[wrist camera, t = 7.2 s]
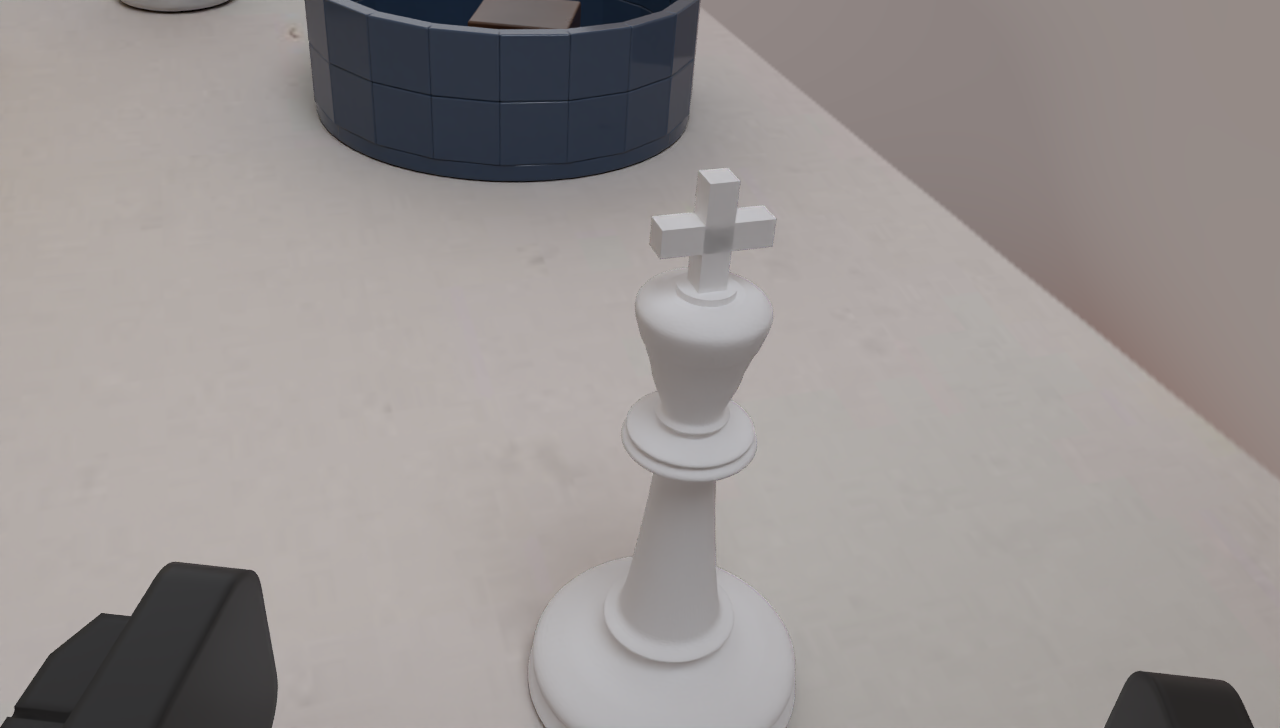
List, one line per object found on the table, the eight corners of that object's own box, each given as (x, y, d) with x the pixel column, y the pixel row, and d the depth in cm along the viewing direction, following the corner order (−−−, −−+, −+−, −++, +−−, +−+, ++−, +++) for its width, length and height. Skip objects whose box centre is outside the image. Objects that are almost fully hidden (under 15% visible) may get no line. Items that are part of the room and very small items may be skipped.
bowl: (697, 59, 49) (708, -59, 46) (677, 200, 37) (691, 52, 34) (377, 29, 49) (369, -90, 46) (258, 158, 38) (238, 10, 35)
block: (578, 92, 43) (581, 0, 41) (565, 126, 40) (568, 30, 38) (488, 83, 43) (487, -8, 41) (469, 117, 40) (467, 20, 38)
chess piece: (841, 749, 19) (977, 243, 14) (571, 822, 18) (599, 288, 12) (731, 556, 23) (803, 97, 18) (500, 603, 22) (497, 118, 16)
